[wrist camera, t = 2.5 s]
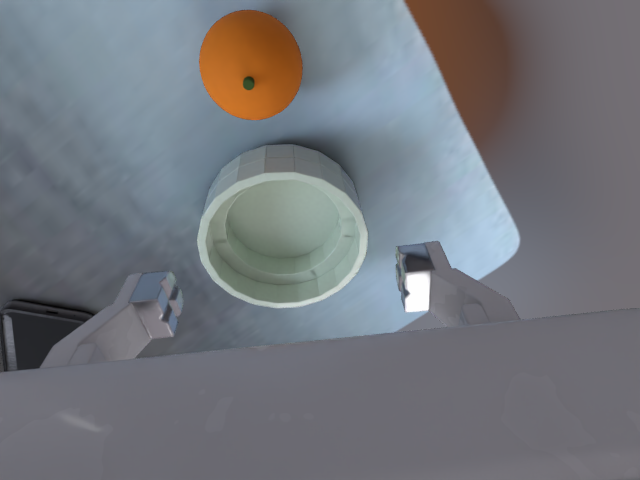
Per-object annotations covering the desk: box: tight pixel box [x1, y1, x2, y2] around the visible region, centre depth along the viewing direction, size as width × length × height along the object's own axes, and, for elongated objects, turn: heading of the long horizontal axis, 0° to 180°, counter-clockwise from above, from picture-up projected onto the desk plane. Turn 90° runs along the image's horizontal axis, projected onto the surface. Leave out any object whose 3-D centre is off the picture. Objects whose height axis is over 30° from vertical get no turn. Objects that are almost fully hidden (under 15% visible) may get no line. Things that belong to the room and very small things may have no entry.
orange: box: [199, 10, 303, 120], centre depth 25 cm, size 6×6×6 cm
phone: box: [0, 300, 93, 372], centre depth 42 cm, size 8×1×15 cm
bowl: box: [197, 144, 368, 308], centre depth 33 cm, size 12×12×5 cm
